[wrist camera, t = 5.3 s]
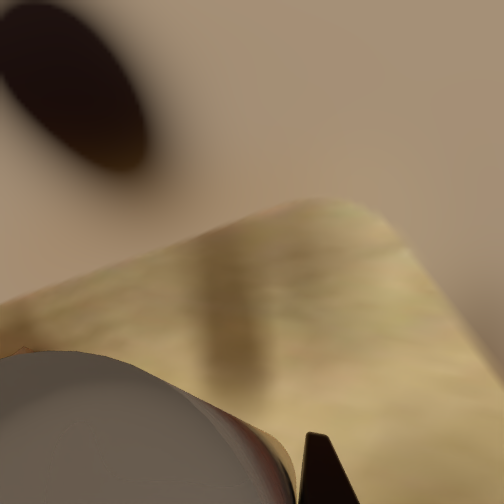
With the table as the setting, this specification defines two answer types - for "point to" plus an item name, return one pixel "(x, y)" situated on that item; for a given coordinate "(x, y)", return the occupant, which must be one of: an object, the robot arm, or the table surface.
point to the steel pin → (126, 439)
